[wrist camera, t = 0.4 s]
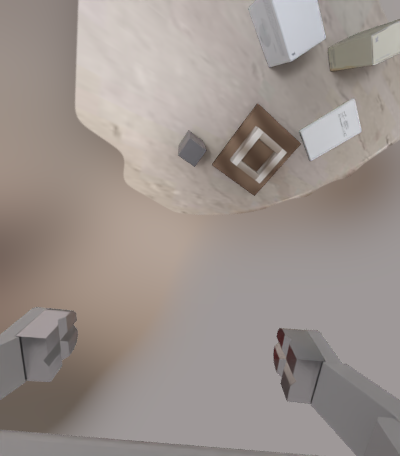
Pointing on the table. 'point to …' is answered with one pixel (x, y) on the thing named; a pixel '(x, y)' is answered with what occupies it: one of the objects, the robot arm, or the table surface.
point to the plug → (191, 148)
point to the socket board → (256, 151)
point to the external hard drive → (331, 130)
